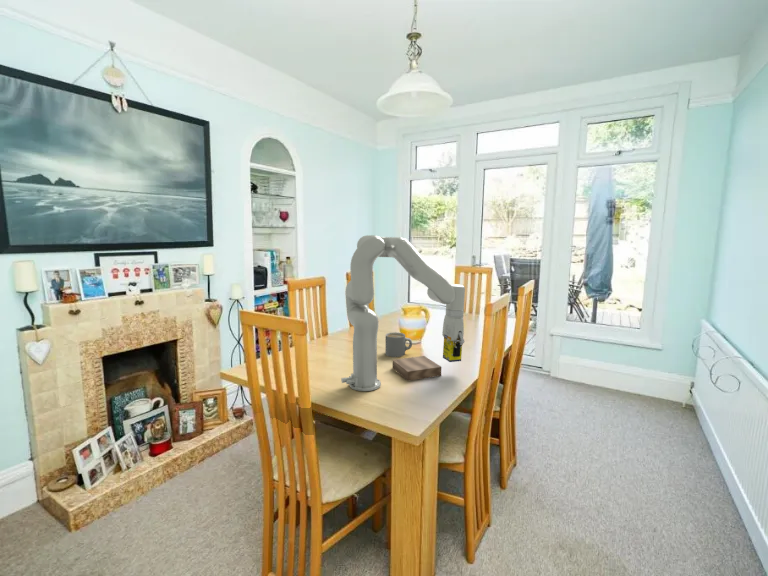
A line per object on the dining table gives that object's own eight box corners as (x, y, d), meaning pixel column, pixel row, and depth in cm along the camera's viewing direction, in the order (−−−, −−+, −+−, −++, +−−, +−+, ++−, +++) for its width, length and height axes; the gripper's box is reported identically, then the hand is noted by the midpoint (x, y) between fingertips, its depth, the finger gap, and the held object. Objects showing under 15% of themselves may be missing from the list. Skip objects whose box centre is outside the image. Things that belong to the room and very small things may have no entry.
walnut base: (407, 380, 158) (407, 371, 158) (392, 368, 173) (392, 359, 172) (441, 375, 164) (441, 366, 163) (423, 364, 179) (424, 355, 178)
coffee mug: (384, 356, 190) (384, 337, 188) (386, 350, 199) (387, 332, 198) (410, 357, 188) (411, 338, 186) (412, 351, 197) (412, 333, 196)
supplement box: (442, 358, 167) (443, 333, 165) (454, 357, 169) (455, 333, 167) (449, 362, 161) (450, 337, 160) (461, 361, 163) (463, 336, 162)
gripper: (436, 309, 169) (434, 349, 171) (458, 317, 153) (455, 361, 155) (451, 309, 172) (449, 347, 174) (473, 316, 156) (471, 359, 158)
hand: (452, 353), depth 165 cm, fingers closed on supplement box, 6 cm apart
